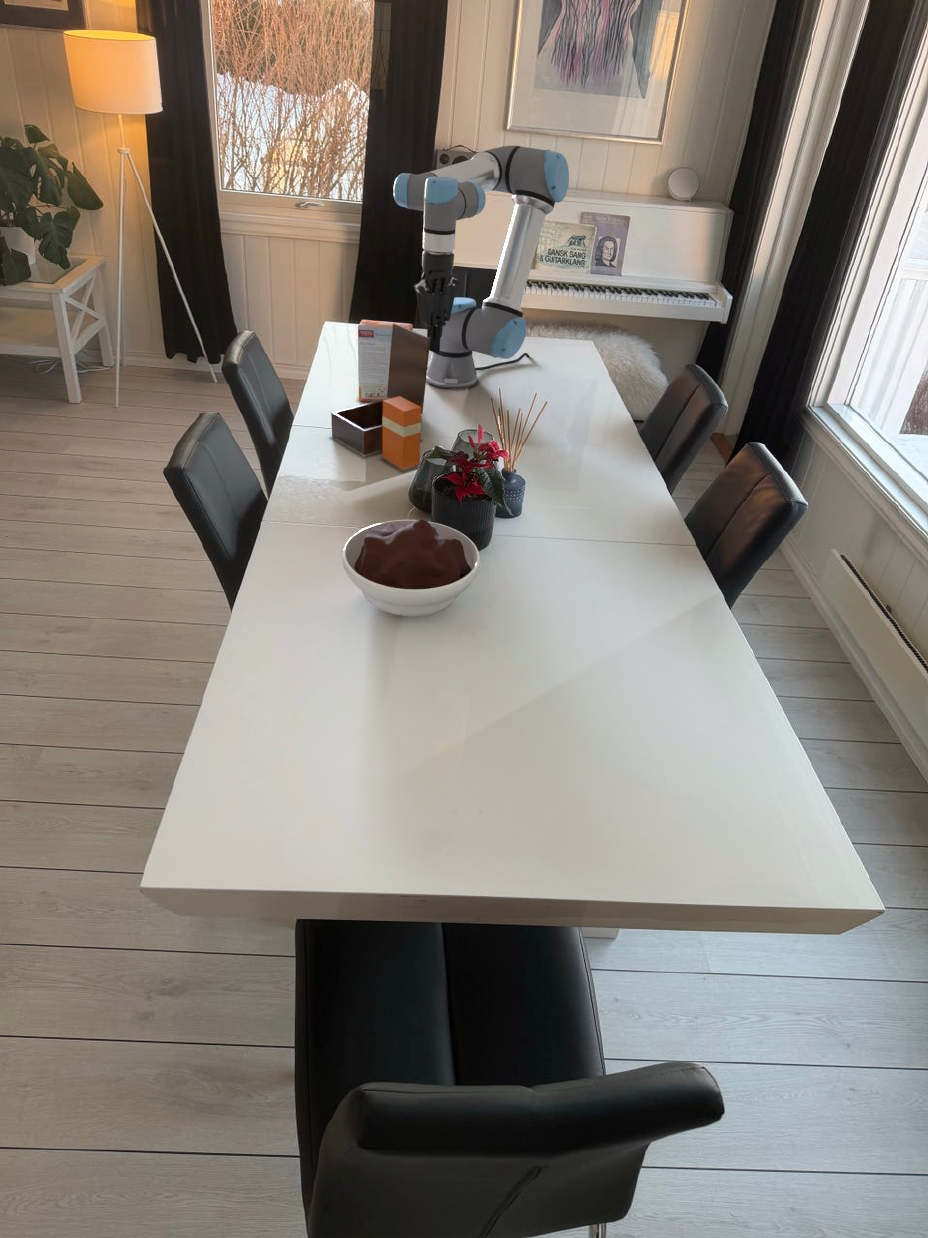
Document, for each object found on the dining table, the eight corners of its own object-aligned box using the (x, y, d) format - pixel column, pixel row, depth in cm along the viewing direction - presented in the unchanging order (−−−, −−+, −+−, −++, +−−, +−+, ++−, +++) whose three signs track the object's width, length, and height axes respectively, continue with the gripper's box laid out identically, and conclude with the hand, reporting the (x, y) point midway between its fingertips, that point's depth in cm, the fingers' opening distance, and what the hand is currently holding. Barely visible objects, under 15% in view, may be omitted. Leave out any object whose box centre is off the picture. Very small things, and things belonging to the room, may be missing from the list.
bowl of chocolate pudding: (357, 555, 169) (356, 486, 161) (482, 568, 168) (488, 500, 160) (329, 628, 149) (326, 554, 140) (470, 643, 148) (476, 570, 139)
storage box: (364, 457, 206) (363, 431, 202) (331, 438, 214) (331, 412, 210) (420, 441, 216) (421, 415, 212) (387, 423, 224) (387, 398, 220)
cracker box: (411, 398, 239) (413, 322, 226) (408, 406, 234) (410, 329, 222) (362, 393, 239) (362, 317, 227) (358, 401, 234) (357, 324, 222)
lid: (427, 338, 201) (430, 338, 202) (392, 323, 209) (395, 323, 210) (420, 414, 211) (422, 413, 212) (386, 396, 219) (389, 396, 220)
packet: (398, 454, 208) (399, 395, 200) (419, 466, 204) (421, 406, 195) (381, 459, 205) (382, 400, 197) (402, 472, 201) (404, 411, 192)
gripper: (449, 244, 206) (443, 342, 219) (406, 250, 198) (404, 350, 212) (469, 251, 201) (463, 350, 215) (427, 257, 194) (423, 359, 207)
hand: (433, 350), depth 213 cm, fingers closed
